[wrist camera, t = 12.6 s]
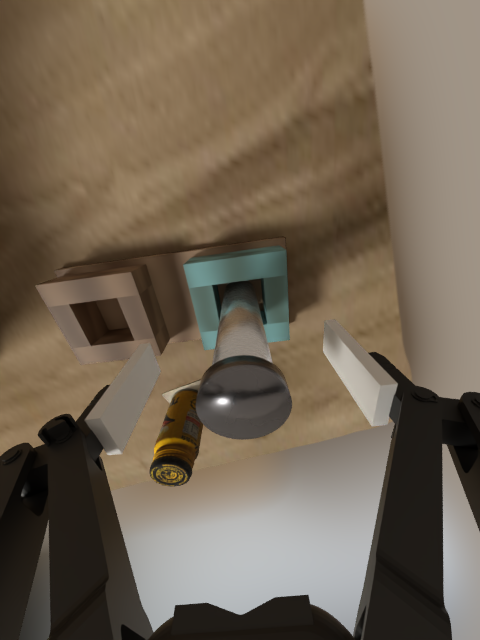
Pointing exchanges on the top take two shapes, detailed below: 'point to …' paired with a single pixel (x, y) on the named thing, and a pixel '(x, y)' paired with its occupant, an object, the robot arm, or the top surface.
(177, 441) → the condiment
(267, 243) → the dock station
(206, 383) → the steel pin
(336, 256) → the top surface
